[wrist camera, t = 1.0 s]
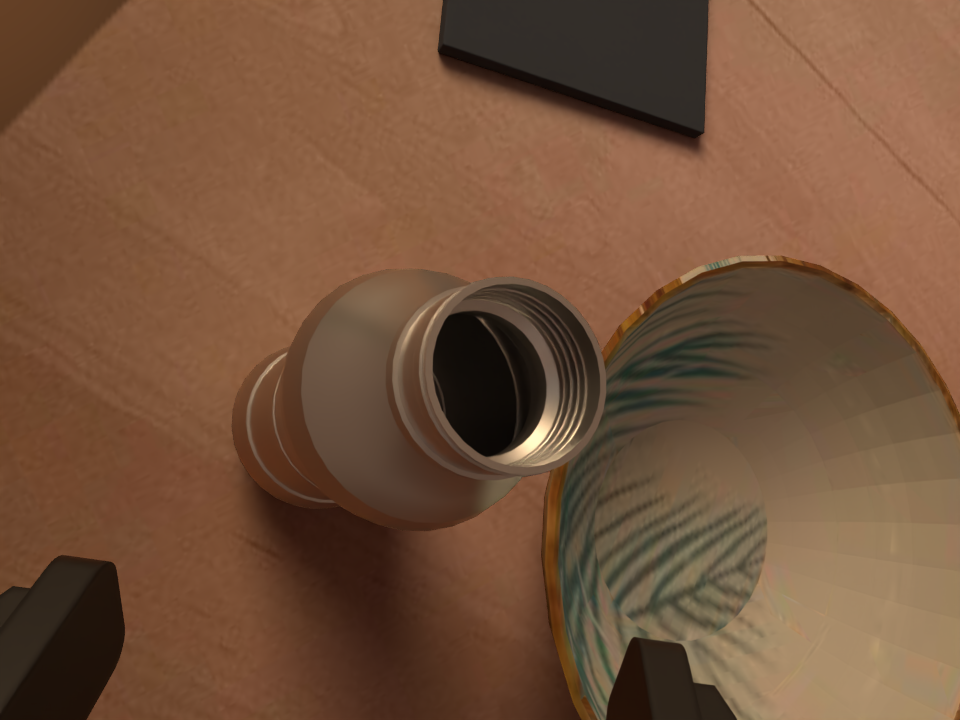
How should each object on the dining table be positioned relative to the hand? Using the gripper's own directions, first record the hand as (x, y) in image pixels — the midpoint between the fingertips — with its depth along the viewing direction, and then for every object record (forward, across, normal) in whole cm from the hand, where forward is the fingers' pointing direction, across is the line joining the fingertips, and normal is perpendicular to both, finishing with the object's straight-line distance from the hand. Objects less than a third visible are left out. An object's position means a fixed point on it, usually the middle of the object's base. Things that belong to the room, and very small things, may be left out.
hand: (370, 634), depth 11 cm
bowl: (+22, -14, +16) cm, 30 cm away
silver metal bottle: (+18, +5, +9) cm, 21 cm away
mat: (+38, -4, -8) cm, 39 cm away
